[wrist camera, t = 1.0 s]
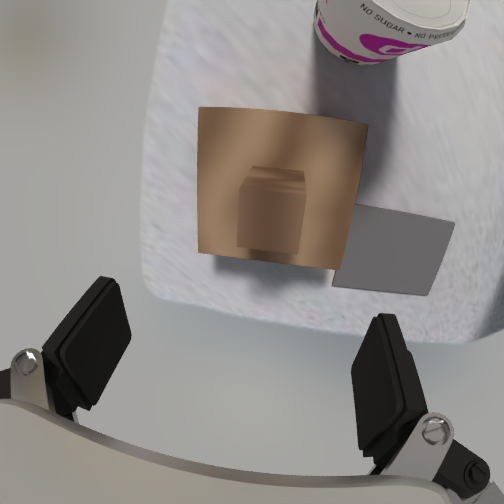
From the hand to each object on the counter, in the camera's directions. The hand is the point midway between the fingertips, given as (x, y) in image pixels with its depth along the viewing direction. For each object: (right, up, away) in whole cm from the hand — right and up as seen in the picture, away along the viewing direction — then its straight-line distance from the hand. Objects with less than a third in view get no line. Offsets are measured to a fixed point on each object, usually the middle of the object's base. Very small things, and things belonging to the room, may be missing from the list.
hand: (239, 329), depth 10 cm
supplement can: (+10, +23, +10) cm, 27 cm away
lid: (+2, +8, +14) cm, 16 cm away
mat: (+16, +3, +20) cm, 26 cm away
